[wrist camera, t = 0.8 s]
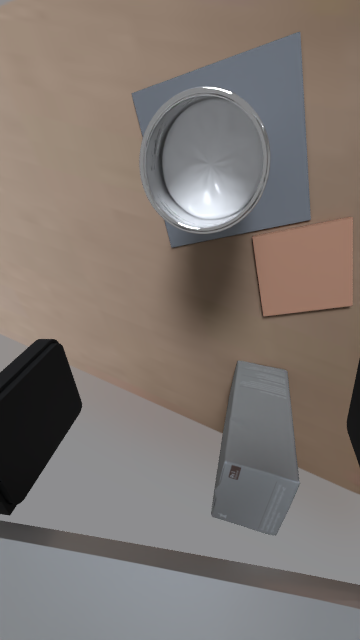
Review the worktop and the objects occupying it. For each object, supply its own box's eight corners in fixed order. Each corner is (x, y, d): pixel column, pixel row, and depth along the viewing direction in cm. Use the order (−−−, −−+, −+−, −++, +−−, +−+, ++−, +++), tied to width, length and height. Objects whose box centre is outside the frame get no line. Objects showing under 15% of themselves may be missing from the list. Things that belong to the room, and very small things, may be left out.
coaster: (350, 216, 28) (352, 217, 28) (350, 303, 32) (352, 305, 32) (252, 235, 31) (252, 237, 30) (263, 313, 35) (263, 316, 34)
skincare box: (273, 414, 42) (283, 542, 28) (221, 403, 43) (207, 522, 29) (290, 366, 38) (312, 489, 24) (232, 355, 38) (221, 467, 25)
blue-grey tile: (299, 32, 23) (300, 31, 23) (310, 219, 29) (310, 219, 29) (132, 93, 27) (131, 93, 27) (171, 247, 33) (171, 247, 33)
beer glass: (187, 199, 30) (141, 237, 18) (185, 116, 27) (126, 86, 14) (260, 198, 29) (267, 238, 16) (267, 110, 26) (283, 72, 13)
